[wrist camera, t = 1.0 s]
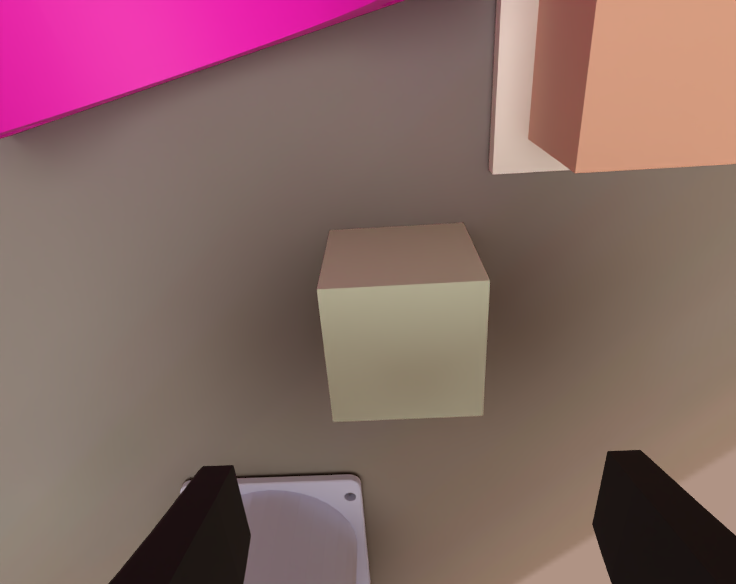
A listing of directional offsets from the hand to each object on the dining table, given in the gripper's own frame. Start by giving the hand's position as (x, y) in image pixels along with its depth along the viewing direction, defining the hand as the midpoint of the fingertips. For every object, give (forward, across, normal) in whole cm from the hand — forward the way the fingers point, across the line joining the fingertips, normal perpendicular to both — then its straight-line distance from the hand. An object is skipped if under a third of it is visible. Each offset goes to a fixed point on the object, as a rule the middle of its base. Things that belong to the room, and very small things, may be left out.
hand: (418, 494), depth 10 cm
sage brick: (+9, 0, 0) cm, 9 cm away
